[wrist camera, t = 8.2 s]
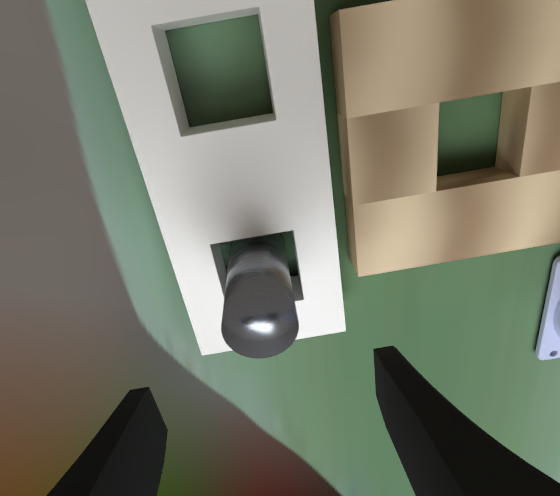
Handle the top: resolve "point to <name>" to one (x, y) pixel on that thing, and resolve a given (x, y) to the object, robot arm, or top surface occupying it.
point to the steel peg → (259, 298)
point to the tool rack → (230, 154)
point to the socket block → (424, 128)
